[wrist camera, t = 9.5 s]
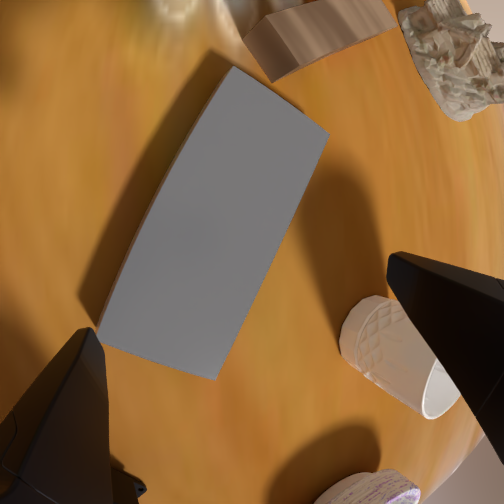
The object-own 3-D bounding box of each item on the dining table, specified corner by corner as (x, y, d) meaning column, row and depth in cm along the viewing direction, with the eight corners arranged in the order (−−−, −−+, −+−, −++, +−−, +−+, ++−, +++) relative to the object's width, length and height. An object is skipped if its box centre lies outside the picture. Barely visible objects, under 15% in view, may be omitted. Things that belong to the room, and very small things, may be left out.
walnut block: (299, 65, 17) (398, 26, 21) (265, 15, 16) (373, -11, 19) (270, 84, 21) (368, 39, 24) (240, 41, 20) (346, 5, 23)
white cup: (342, 287, 26) (443, 322, 16) (401, 288, 29) (489, 313, 20) (324, 376, 26) (408, 432, 17) (384, 364, 29) (462, 403, 20)
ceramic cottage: (486, 106, 34) (569, 92, 20) (437, 135, 30) (554, 117, 16) (440, 11, 30) (517, -21, 16) (376, 11, 26) (476, -45, 12)
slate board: (205, 367, 21) (214, 380, 20) (95, 327, 18) (94, 339, 16) (313, 139, 23) (329, 134, 21) (222, 76, 19) (233, 65, 17)
